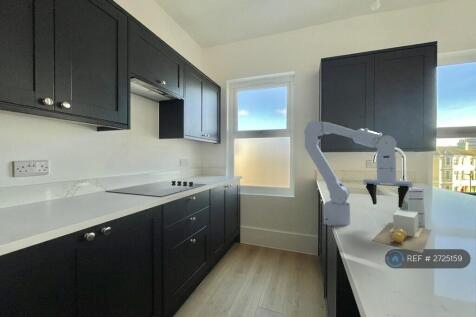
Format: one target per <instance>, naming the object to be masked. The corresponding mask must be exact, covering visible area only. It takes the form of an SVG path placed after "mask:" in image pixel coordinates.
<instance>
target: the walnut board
mask: <svg viewBox="0 0 476 317" xmlns="http://www.w3.org/2000/svg"><path fill="white" fill-rule="evenodd" d="M431 231H432V230H431V229H427V228H423V227H418V231H417V232H416V234H415V236H413V235H408V234H406V238H404V241H403V242H401V243H398V242H395V241H394V240H393V239H392V234H393V233H395V232H394V230H393V222H389V223H387V225H386V226H385V227H384V228H382V229H381V230H380V232H379V233H378V234H377V235H376V236H375V237H374V238H373V239H372V240H371V242H374V243H378V244H384V245H387V246H392V247H395V248H399V249H403V250H407V251H411V252H412V251H413V252H415V253H420V254H424V251H425V248H426V245H427V244H428V240H429V237H430V234H431Z"/></svg>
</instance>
